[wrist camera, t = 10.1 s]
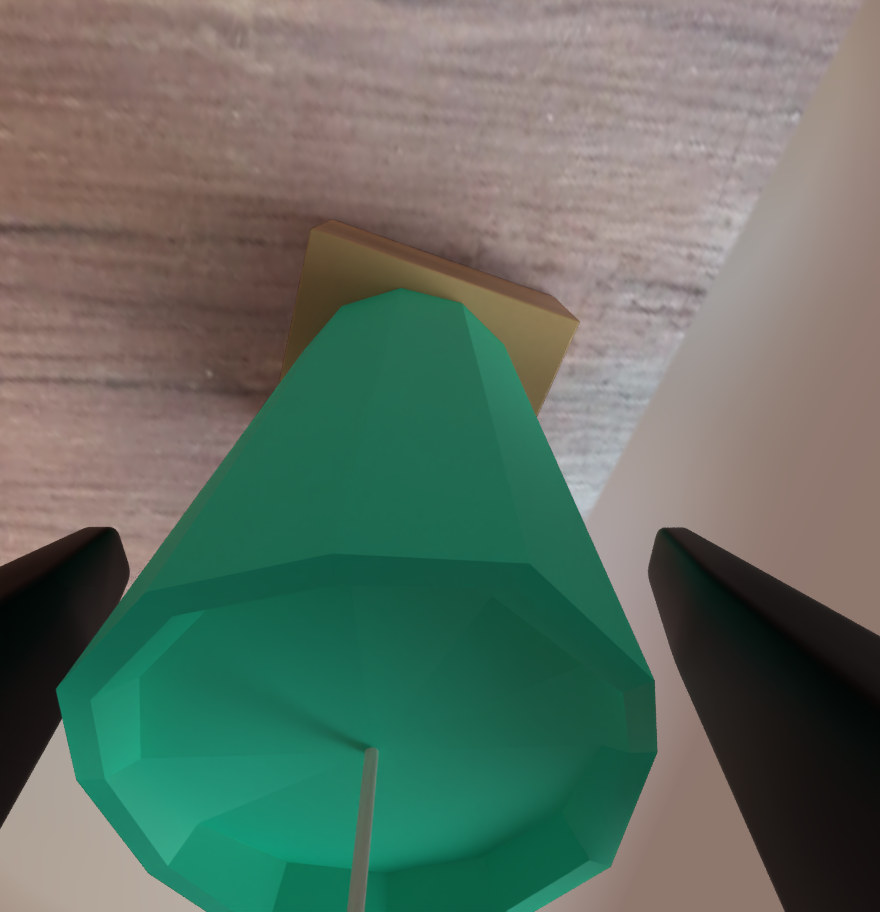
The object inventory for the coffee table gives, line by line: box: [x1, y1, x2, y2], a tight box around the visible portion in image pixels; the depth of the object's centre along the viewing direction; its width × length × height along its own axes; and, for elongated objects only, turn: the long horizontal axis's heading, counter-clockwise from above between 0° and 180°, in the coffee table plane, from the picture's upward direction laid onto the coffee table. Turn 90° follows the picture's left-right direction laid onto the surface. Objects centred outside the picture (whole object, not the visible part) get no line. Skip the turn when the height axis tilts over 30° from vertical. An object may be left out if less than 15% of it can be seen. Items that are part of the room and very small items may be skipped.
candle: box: [56, 288, 657, 912], centre depth 9 cm, size 6×6×12 cm
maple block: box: [278, 220, 580, 417], centre depth 16 cm, size 7×7×3 cm
